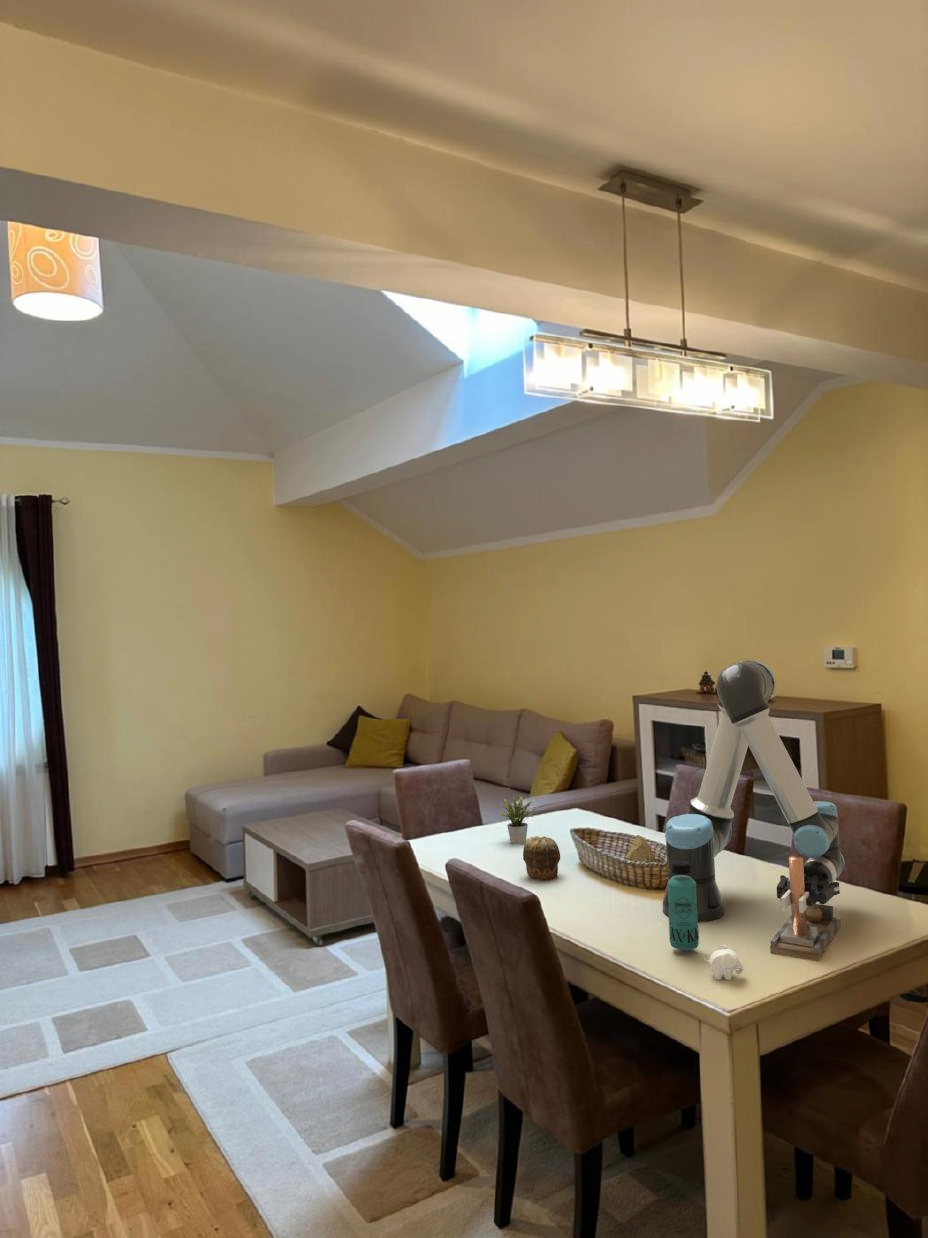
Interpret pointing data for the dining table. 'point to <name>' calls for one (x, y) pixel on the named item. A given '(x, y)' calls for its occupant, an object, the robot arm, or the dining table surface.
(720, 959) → the elephant figurine
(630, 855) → the rock
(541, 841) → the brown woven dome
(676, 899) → the beverage bottle
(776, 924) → the dining table surface
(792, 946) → the nutcracker base
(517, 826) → the house plant
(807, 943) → the copper post
